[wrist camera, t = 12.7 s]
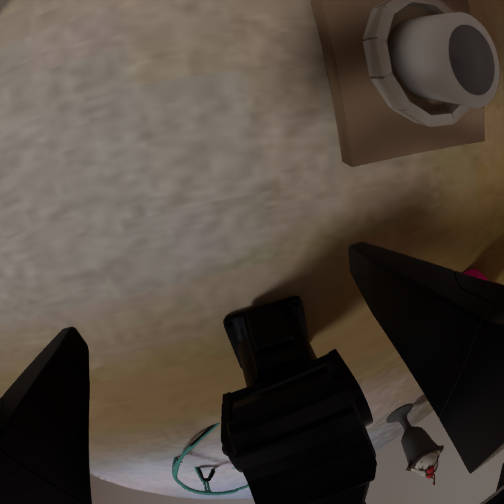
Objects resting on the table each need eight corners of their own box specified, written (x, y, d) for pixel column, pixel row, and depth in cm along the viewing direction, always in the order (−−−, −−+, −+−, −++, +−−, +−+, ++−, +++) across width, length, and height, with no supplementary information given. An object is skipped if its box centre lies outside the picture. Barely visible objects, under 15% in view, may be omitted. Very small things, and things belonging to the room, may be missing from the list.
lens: (453, 96, 18) (504, 107, 13) (394, 100, 17) (447, 110, 13) (442, 22, 15) (493, 20, 10) (379, 16, 14) (430, 5, 10)
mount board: (472, 137, 21) (496, 145, 19) (342, 161, 21) (363, 173, 18) (451, -12, 14) (475, -16, 12) (301, -31, 13) (319, -46, 11)
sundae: (392, 406, 40) (434, 482, 27) (422, 396, 42) (465, 465, 29) (375, 428, 43) (410, 499, 30) (405, 419, 45) (441, 483, 32)
